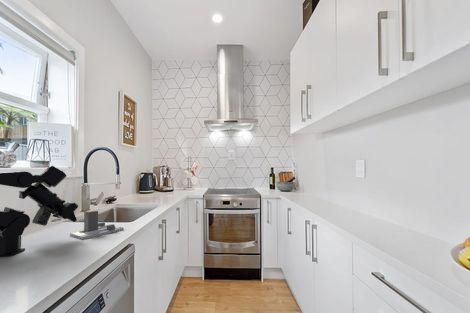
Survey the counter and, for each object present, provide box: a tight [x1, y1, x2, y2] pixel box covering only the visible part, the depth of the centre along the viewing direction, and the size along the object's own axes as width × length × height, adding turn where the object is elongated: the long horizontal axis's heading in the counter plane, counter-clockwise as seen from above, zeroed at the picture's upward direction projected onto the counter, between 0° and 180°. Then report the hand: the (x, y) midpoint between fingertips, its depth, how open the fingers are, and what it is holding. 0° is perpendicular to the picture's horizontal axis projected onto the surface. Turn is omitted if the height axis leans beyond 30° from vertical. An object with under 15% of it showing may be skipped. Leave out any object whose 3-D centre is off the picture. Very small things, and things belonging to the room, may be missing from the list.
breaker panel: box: [69, 221, 125, 241], centre depth 110 cm, size 18×10×3 cm, turn 146°
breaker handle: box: [83, 209, 99, 232], centre depth 107 cm, size 4×4×9 cm
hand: (75, 221), depth 102 cm, fingers closed
